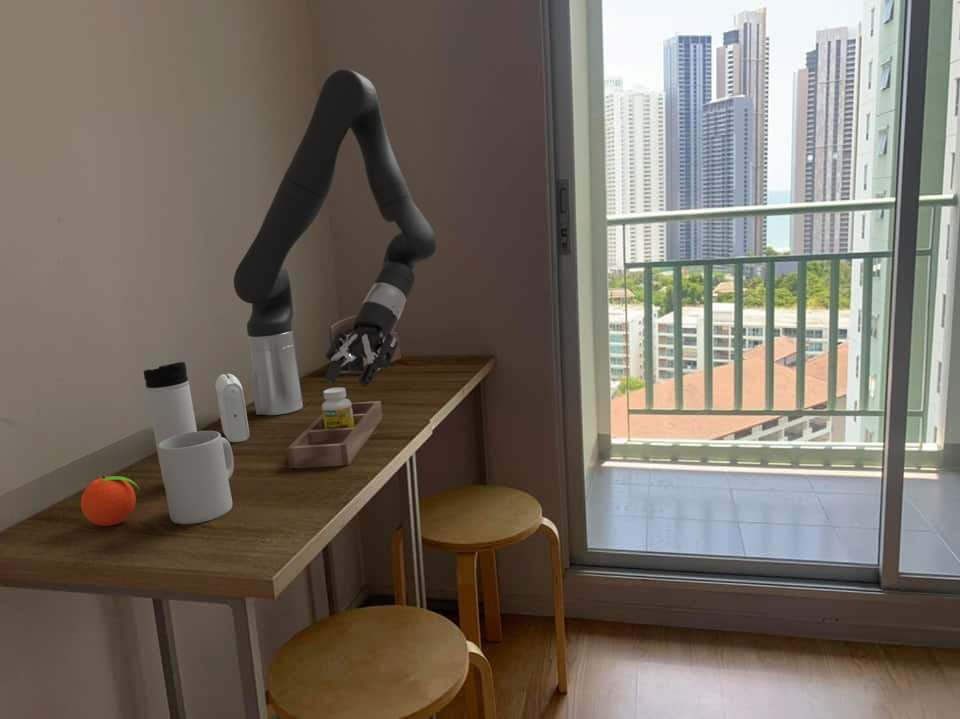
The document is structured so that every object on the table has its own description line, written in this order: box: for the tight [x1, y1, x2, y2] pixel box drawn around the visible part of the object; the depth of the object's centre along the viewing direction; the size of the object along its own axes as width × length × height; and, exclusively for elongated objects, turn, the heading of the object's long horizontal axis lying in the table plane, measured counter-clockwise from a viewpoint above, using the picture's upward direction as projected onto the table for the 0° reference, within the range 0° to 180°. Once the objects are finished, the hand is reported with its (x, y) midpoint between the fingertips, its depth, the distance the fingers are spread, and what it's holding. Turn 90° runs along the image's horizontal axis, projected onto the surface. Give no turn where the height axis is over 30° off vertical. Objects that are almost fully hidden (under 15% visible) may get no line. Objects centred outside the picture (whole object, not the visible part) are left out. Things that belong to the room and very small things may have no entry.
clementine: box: [80, 475, 141, 527], centre depth 104 cm, size 8×7×7 cm
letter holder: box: [328, 314, 402, 376], centre depth 202 cm, size 10×20×14 cm, turn 158°
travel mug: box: [143, 361, 198, 488], centre depth 117 cm, size 6×7×20 cm
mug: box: [157, 430, 235, 525], centre depth 107 cm, size 12×8×11 cm
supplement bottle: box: [321, 386, 354, 429], centre depth 134 cm, size 5×5×10 cm
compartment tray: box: [286, 400, 383, 470], centre depth 135 cm, size 10×28×4 cm, turn 176°
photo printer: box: [215, 373, 250, 443], centre depth 144 cm, size 10×4×12 cm, turn 27°
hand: (345, 383), depth 136 cm, fingers open, 8 cm apart
